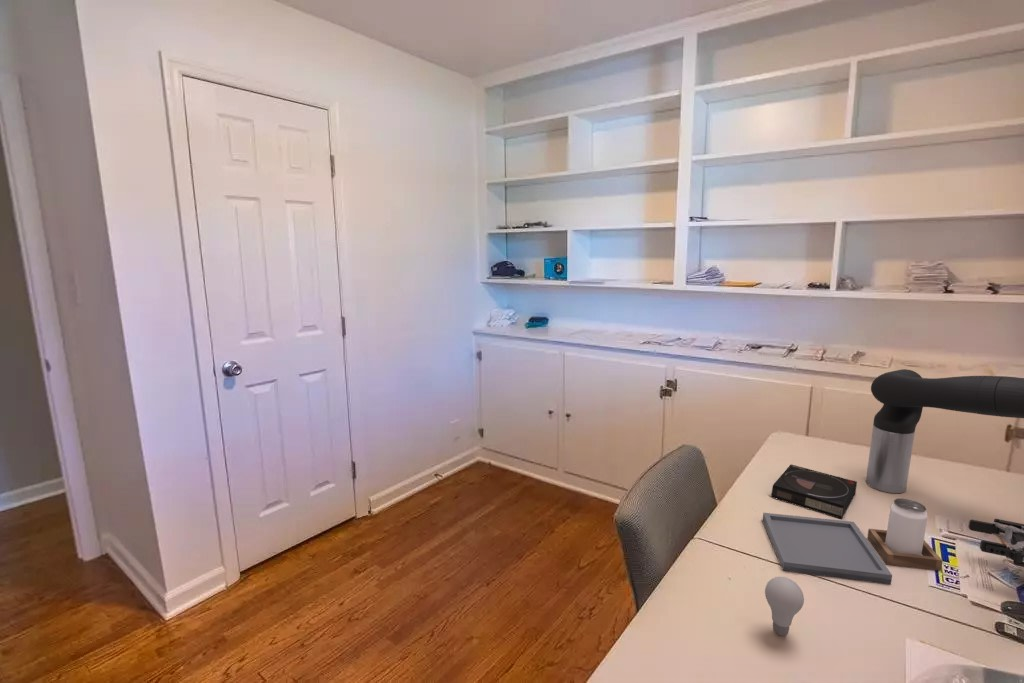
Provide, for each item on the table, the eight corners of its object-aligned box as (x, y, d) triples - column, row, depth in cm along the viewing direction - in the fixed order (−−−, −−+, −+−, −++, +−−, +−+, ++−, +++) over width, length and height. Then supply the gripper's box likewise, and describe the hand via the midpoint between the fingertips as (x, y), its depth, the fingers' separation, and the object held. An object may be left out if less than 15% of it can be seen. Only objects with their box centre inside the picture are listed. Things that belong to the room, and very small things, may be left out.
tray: (762, 520, 129) (763, 512, 128) (852, 530, 124) (853, 521, 124) (783, 571, 110) (784, 561, 109) (890, 584, 105) (892, 575, 105)
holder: (867, 538, 121) (868, 528, 120) (916, 543, 118) (918, 533, 118) (886, 564, 111) (888, 554, 111) (940, 571, 109) (942, 560, 108)
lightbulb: (754, 622, 96) (759, 570, 93) (786, 620, 96) (791, 567, 94) (773, 648, 90) (779, 593, 87) (807, 645, 90) (813, 590, 88)
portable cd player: (770, 499, 140) (772, 485, 139) (789, 476, 152) (790, 464, 151) (841, 521, 129) (843, 506, 128) (855, 495, 141) (857, 481, 140)
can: (927, 564, 111) (935, 513, 108) (893, 561, 112) (900, 511, 110) (910, 546, 117) (918, 498, 115) (878, 543, 119) (885, 496, 116)
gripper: (1071, 520, 105) (968, 502, 113) (1106, 558, 93) (988, 535, 101) (1064, 553, 107) (962, 533, 114) (1098, 595, 94) (982, 570, 102)
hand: (974, 534), depth 108 cm, fingers open, 8 cm apart
